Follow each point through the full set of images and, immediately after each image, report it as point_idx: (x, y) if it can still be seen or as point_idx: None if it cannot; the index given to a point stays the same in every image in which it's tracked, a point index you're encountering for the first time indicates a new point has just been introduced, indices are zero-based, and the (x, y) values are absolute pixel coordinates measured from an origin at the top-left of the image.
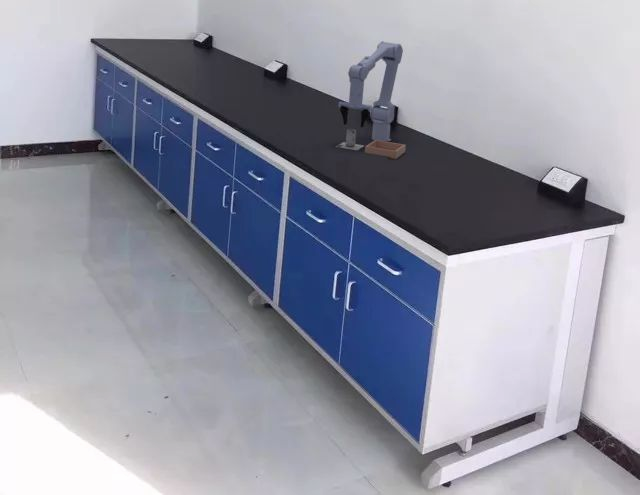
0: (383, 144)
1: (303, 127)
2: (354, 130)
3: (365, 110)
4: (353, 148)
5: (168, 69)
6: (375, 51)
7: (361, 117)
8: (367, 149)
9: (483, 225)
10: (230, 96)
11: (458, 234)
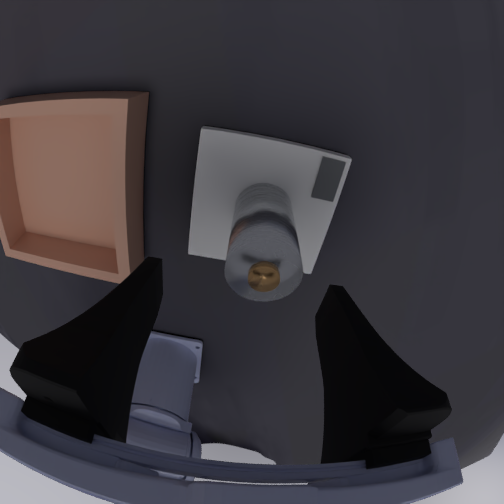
0: (89, 258)
1: None
2: (239, 279)
3: (55, 417)
4: (233, 161)
5: (480, 449)
6: None
7: (116, 325)
8: (119, 96)
9: None
10: (470, 434)
11: None
